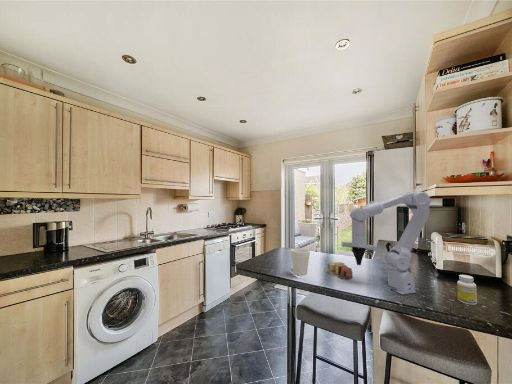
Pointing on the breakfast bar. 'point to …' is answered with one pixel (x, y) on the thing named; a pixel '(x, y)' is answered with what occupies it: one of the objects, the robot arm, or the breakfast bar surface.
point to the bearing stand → (331, 271)
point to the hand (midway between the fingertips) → (359, 264)
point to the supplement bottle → (466, 290)
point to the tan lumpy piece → (338, 268)
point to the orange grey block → (346, 271)
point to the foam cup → (300, 261)
